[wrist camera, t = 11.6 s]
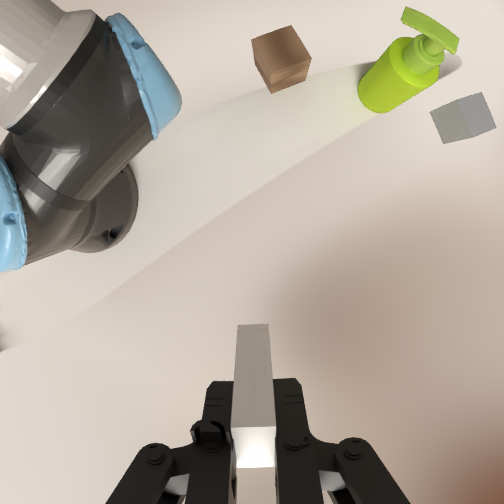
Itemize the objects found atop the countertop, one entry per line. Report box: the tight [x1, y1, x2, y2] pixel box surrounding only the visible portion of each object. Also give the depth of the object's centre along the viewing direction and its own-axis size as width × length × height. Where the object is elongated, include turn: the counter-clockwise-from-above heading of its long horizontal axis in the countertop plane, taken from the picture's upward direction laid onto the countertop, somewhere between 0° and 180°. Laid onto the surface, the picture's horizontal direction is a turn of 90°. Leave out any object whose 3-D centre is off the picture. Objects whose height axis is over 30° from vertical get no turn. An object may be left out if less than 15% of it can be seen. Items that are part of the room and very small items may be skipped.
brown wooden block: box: [251, 25, 312, 94], centre depth 34 cm, size 5×5×8 cm
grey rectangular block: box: [430, 92, 496, 144], centre depth 33 cm, size 5×5×8 cm
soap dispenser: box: [358, 7, 459, 113], centre depth 28 cm, size 6×7×20 cm
